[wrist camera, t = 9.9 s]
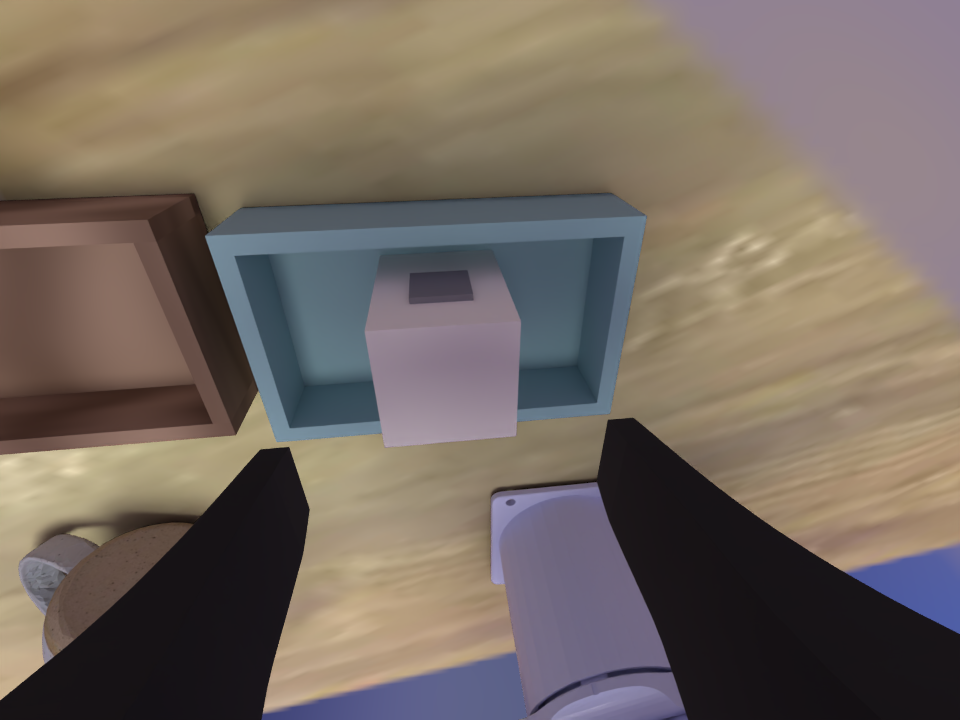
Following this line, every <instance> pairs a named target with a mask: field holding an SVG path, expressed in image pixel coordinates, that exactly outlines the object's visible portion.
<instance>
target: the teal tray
mask: <svg viewBox="0 0 960 720" xmlns="http://www.w3.org/2000/svg"><path fill="white" fill-rule="evenodd" d="M646 219H647V216H646V215H645V214H643V213H642V212H640V211H639V210H637V209H635V208H634V207H632V206H631V205H629V204H628V203H626V202H625V201H623V200H622V199H620V198H618V197H617V196H615V195H614V194H612V193H597V194H572V195H548V196H523V197H498V198H473V199H448V200H423V201H398V202H374V203H349V204H324V205H299V206H274V207H249V208H240V209H239V210H237V211H236V212H235V213H233V214H232V215H231V216H230V217H228V218H227V219H226V220H225V221H223V222H222V223H221V224H219V225H218V226H217V227H216V228H214V229H213V230H212V231H211V232H209V233H208V234H207V235H205V238H206V241H207V244H208V246H209V249H210V252H211V255H212V258H213V261H214V264H215V267H216V269H217V272H218V275H219V278H220V281H221V284H222V287H223V289H224V292H225V295H226V298H227V301H228V304H229V307H230V310H231V312H232V315H233V318H234V321H235V324H236V327H237V330H238V332H239V335H240V338H241V341H242V344H243V347H244V350H245V353H246V355H247V358H248V361H249V364H250V367H251V370H252V373H253V375H254V378H255V381H256V384H257V387H258V390H259V393H260V396H261V398H262V401H263V404H264V407H265V410H266V413H267V416H268V418H269V421H270V424H271V427H272V430H273V433H274V436H275V439H276V441H277V442H285V441H297V440H309V439H320V438H332V437H344V436H355V435H367V434H379V433H382V429H381V423H380V418H379V412H378V406H377V400H376V395H375V389H374V383H373V377H372V372H371V366H370V360H369V355H368V349H367V343H366V337H365V332H364V331H365V326H366V321H367V317H368V312H369V307H370V302H371V297H372V292H373V287H374V283H375V278H376V273H377V268H378V263H379V258H380V256H381V255H401V254H420V253H440V252H459V251H479V250H492V251H493V253H494V256H495V258H496V260H497V263H498V265H499V268H500V270H501V273H502V275H503V278H504V280H505V283H506V285H507V288H508V290H509V293H510V295H511V298H512V300H513V302H514V305H515V307H516V310H517V312H518V315H519V317H520V320H521V334H520V358H519V382H518V405H517V422H520V421H531V420H543V419H555V418H567V417H578V416H590V415H602V414H610V410H611V405H612V400H613V394H614V389H615V384H616V378H617V373H618V368H619V362H620V357H621V352H622V346H623V341H624V336H625V330H626V325H627V320H628V314H629V309H630V304H631V298H632V293H633V288H634V282H635V277H636V272H637V266H638V261H639V256H640V251H641V245H642V240H643V235H644V229H645V224H646Z"/></svg>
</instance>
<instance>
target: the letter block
mask: <svg viewBox="0 0 960 720" xmlns="http://www.w3.org/2000/svg"><path fill="white" fill-rule="evenodd" d="M364 332H365V337H366V343H367V349H368V355H369V360H370V366H371V372H372V377H373V383H374V389H375V395H376V400H377V406H378V412H379V418H380V423H381V429H382V435H383V441H384V446H385V448H387V447H398V446H410V445H421V444H432V443H444V442H455V441H466V440H478V439H489V438H500V437H512V436H516V429H517V405H518V382H519V358H520V334H521V320H520V317H519V315H518V312H517V310H516V307H515V305H514V302H513V300H512V298H511V295H510V293H509V290H508V288H507V285H506V283H505V280H504V278H503V275H502V273H501V270H500V268H499V265H498V263H497V260H496V258H495V256H494V253H493V251H492V250H479V251H459V252H440V253H420V254H401V255H381V256H380V258H379V263H378V268H377V273H376V278H375V283H374V287H373V292H372V297H371V302H370V307H369V312H368V317H367V321H366V326H365V331H364Z"/></svg>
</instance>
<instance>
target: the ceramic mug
mask: <svg viewBox="0 0 960 720" xmlns="http://www.w3.org/2000/svg"><path fill="white" fill-rule="evenodd" d="M192 525H193V524H190V523H164V524H157V525H151V526H146V527H143V528H139V529H136V530H133V531H130V532H127V533H124V534H122V535H120V536H118V537H116V538H114V539H112V540H110V541H108V542H106V543H105V544H103V545H101V546H100V547H99V546H98V545H97V544H95V543H93V542H91V541H89V540H87V539H85V538H80V537H78V536H74V535H70V534H61V535H57V536H54V537H52V538H51V539H49V540H47V541H46V542H44V543H43V544H41V545H40V546H39V547H37V548H36V549H34V550H33V551H31V552H30V553H28V554H27V555H26V556H25V557H24V558H23V559H22V560H21V561H20V563H19V569H18V570H19V576H20V580H21V582H22V584H23V586H24V588H25V590H26V592H27V594H28V596H29V597H30V598H31V600H32V601H33V602H34V603H35V605H36V606H37V607H38V608H39V610H40V611H41V612H42V613H43V614H44V615H45V621H44V626H43V636H42V645H43V658H44V662H45V664H46V663H47V662H48V661H49V660H50V659H52V658H53V657H54V656H55V655H57V654H58V653H59V652H60V651H61V650H63V649H64V648H65V647H66V646H67V645H69V644H70V643H71V642H72V641H73V640H74V639H76V638H77V637H78V636H79V635H80V634H81V633H82V632H84V631H85V630H86V629H87V628H88V627H89V626H90V625H91V624H93V623H94V622H95V621H96V620H97V619H98V618H99V617H100V616H102V615H103V614H104V613H105V612H106V611H107V610H108V609H109V608H110V607H112V606H113V605H114V604H115V603H116V602H117V601H118V600H119V599H120V598H121V597H122V596H123V595H124V594H126V593H127V592H128V591H129V590H130V589H131V588H132V587H133V586H134V585H135V584H136V583H137V582H138V581H139V580H140V579H141V578H142V577H143V576H144V575H145V574H146V573H147V572H148V571H149V570H150V569H151V568H152V567H153V566H154V565H155V564H156V563H157V562H158V561H159V560H160V559H161V558H162V557H163V556H164V555H165V554H166V553H167V552H168V551H169V550H170V549H171V548H172V547H173V546H174V545H175V544H176V543H177V542H178V541H179V539H180V538H181V537H182V536H183V535H184V534H185V533H186V532H187V531H188V530H189V529H190V528H191V527H192ZM63 572H64V573H67V576H65V574H64V573H63Z"/></svg>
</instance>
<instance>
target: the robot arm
mask: <svg viewBox="0 0 960 720" xmlns="http://www.w3.org/2000/svg"><path fill="white" fill-rule="evenodd" d="M510 499H511V500H510ZM309 510H310V509H309V506H308V503H307V500H306V497H305V494H304V491H303V488H302V485H301V481H300V478H299V475H298V472H297V469H296V466H295V463H294V460H293V457H292V454H291V451H290V448H289V447H284V448H272V449H261V450H260V451H259V452H258V453H257V454H256V455H255V456H254V457H253V458H252V459H251V460H250V462H249V463H248V464H247V465H246V466H245V467H244V468H243V469H242V471H241V472H240V473H239V474H238V475H237V476H236V477H235V479H234V480H233V481H232V482H231V483H230V484H229V485H228V487H227V488H226V489H225V490H224V491H223V492H222V493H221V494H220V496H219V497H218V498H217V499H216V500H215V501H214V502H213V504H212V505H211V506H210V507H209V508H208V509H207V510H206V511H205V512H204V513H203V514H202V516H201V517H200V518H199V519H198V520H197V521H196V522H195V523H194V524H193V525H192V527H191V528H190V529H189V530H188V531H187V532H186V533H185V534H184V535H183V536H182V537H181V538H180V539H179V541H178V542H177V543H176V544H175V545H174V546H173V547H172V548H171V549H170V550H169V551H168V552H167V553H166V554H165V555H164V556H163V557H162V558H161V559H160V560H159V561H158V562H157V563H156V564H155V565H154V566H153V567H152V568H151V569H150V570H149V571H148V572H147V573H146V574H145V575H144V576H143V577H142V578H141V579H140V580H139V581H138V582H137V583H136V584H135V585H134V586H133V587H132V588H131V589H130V590H129V591H128V592H127V593H126V594H124V595H123V596H122V597H121V598H120V599H119V600H118V601H117V602H116V603H115V604H114V605H113V606H112V607H110V608H109V609H108V610H107V611H106V612H105V613H104V614H103V615H102V616H100V617H99V618H98V619H97V620H96V621H95V622H94V623H93V624H91V625H90V626H89V627H88V628H87V629H86V630H85V631H84V632H82V633H81V634H80V635H79V636H78V637H77V638H76V639H74V640H73V641H72V642H71V643H70V644H69V645H67V646H66V647H65V648H64V649H63V650H61V651H60V652H59V653H58V654H57V655H55V656H54V657H53V658H52V659H50V660H49V661H48V662H47V663H46V664H44V665H43V666H42V667H41V668H39V669H38V670H37V671H36V672H35V673H33V674H32V675H31V676H30V677H28V678H27V679H26V680H25V681H24V682H22V683H21V684H20V685H19V686H17V687H16V688H15V689H14V690H13V691H11V692H10V693H9V694H8V695H6V696H5V697H4V698H3V699H2V700H0V720H261V719H262V714H263V708H264V703H265V697H266V692H267V687H268V683H269V678H270V674H271V670H272V666H273V662H274V658H275V655H276V651H277V647H278V644H279V640H280V637H281V633H282V629H283V626H284V622H285V619H286V615H287V611H288V608H289V604H290V601H291V597H292V593H293V590H294V586H295V582H296V579H297V575H298V571H299V568H300V564H301V560H302V556H303V551H304V545H305V539H306V532H307V525H308V517H309ZM491 581H492V582H493V583H494V584H505V587H506V593H507V599H508V605H509V611H510V617H511V623H512V629H513V635H514V641H515V647H516V653H517V659H518V665H519V671H520V677H521V683H522V688H523V694H524V701H525V707H526V713H527V717H526V718H523V719H520V720H960V634H958V633H956V632H955V631H952V630H950V629H949V628H946V627H944V626H943V625H941V624H939V623H937V622H935V621H933V620H931V619H929V618H927V617H925V616H923V615H921V614H919V613H917V612H915V611H913V610H911V609H909V608H908V607H906V606H904V605H902V604H900V603H898V602H896V601H894V600H893V599H890V598H889V597H887V596H885V595H883V594H881V593H879V592H878V591H876V590H874V589H873V588H871V587H869V586H867V585H865V584H864V583H862V582H860V581H859V580H857V579H855V578H853V577H852V576H849V575H848V574H846V573H845V572H843V571H841V570H839V569H838V568H836V567H834V566H833V565H831V564H829V563H828V562H826V561H824V560H823V559H821V558H819V557H818V556H816V555H815V554H813V553H812V552H810V551H808V550H807V549H805V548H804V547H802V546H801V545H799V544H798V543H796V542H794V541H793V540H791V539H790V538H788V537H787V536H785V535H784V534H782V533H780V532H779V531H777V530H776V529H775V528H773V527H772V526H770V525H769V524H767V523H766V522H764V521H763V520H761V519H760V518H759V517H757V516H756V515H754V514H753V513H752V512H750V511H749V510H748V509H746V508H745V507H743V506H742V505H741V504H739V503H738V502H737V501H735V500H734V499H732V498H731V497H730V496H728V495H727V494H726V493H725V492H723V491H722V490H721V489H719V488H718V487H717V486H715V485H714V484H713V483H712V482H710V481H709V480H708V479H707V478H705V477H704V476H703V475H702V474H700V473H699V472H698V471H697V470H695V469H694V468H693V467H692V466H690V465H689V464H688V463H687V462H686V461H684V460H683V459H682V458H681V457H680V456H678V455H677V454H676V453H675V452H674V451H672V450H671V449H670V448H669V447H668V446H666V445H665V444H664V443H663V442H662V441H661V440H659V439H658V438H657V437H656V436H655V435H653V434H652V433H651V432H650V431H649V430H648V429H646V428H645V427H644V426H643V425H642V424H640V423H639V422H638V421H637V420H635V419H634V418H625V419H613V420H608V422H607V428H606V433H605V439H604V444H603V449H602V455H601V460H600V466H599V471H598V477H597V482H593V483H583V484H573V485H563V486H553V487H543V488H533V489H523V490H513V491H502V492H497V493H495V494H494V495H493V496H492V497H491Z"/></svg>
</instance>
